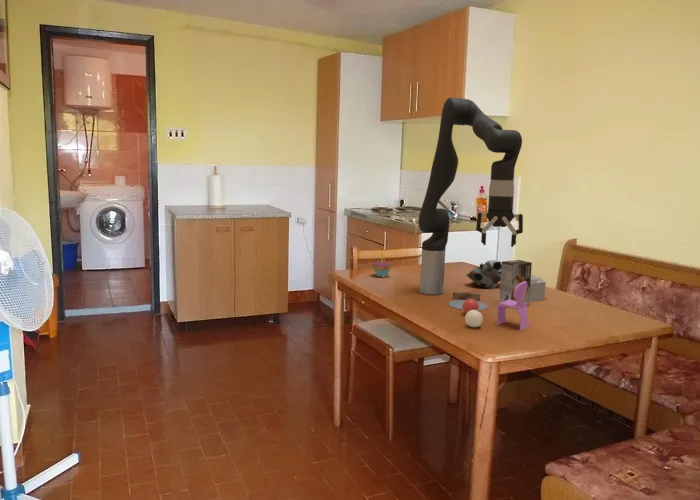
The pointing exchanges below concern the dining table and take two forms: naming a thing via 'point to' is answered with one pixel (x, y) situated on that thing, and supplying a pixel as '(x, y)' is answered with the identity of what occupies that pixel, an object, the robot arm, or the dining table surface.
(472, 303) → the red ball
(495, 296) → the dining table surface
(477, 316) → the cream ball
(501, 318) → the toy chair
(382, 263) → the cupcake
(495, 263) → the lucky cat figurine
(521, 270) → the coffee box
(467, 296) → the strip
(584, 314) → the dining table surface
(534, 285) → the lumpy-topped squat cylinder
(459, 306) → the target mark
